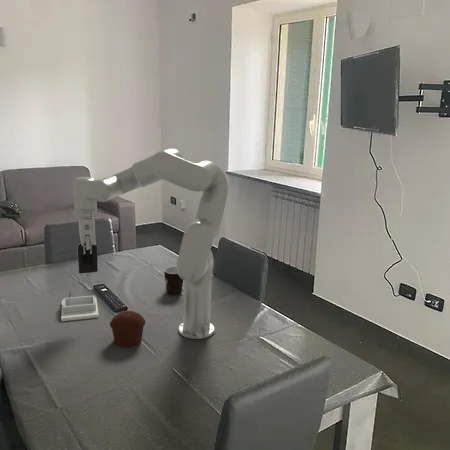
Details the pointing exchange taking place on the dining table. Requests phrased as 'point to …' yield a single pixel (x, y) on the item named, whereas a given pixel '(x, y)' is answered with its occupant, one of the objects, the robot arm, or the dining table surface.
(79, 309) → the dock
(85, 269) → the battery charger
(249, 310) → the dining table surface
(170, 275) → the coffee mug
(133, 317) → the muffin
